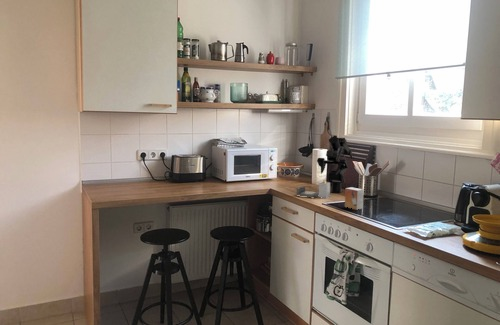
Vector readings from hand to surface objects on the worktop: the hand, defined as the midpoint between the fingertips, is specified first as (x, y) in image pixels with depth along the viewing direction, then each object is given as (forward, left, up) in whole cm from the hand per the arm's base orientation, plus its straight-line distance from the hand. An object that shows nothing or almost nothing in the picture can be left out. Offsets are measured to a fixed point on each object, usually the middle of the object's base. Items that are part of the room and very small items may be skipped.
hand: (328, 173), depth 251 cm
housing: (+6, 0, -14) cm, 15 cm away
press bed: (+7, -10, -14) cm, 18 cm away
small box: (+23, +23, -14) cm, 35 cm away
